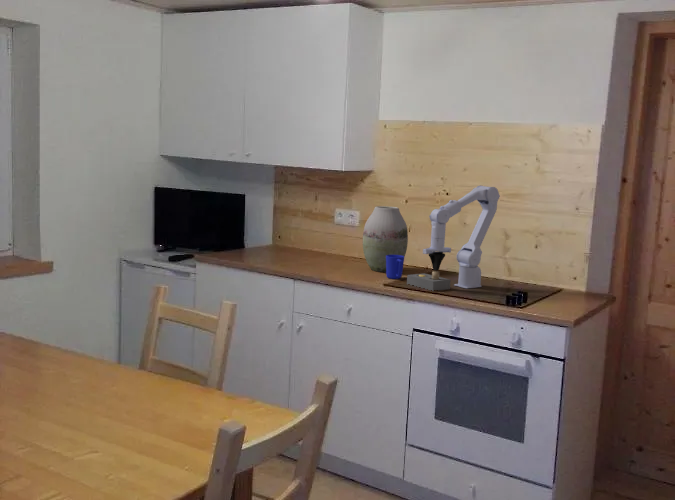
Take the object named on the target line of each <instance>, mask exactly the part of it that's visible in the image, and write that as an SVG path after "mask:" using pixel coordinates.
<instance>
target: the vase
mask: <svg viewBox="0 0 675 500" xmlns="http://www.w3.org/2000/svg"><path fill="white" fill-rule="evenodd" d="M408 232H409V231H408V225H407V223H406V221H405V219H404V217H403V216H402V214H401V211H400V208H399V207H396V206H386V205H385V206H384V205H381V206H380V205H379V206H375V207H374V209H373V211H372V212H371V213H370V215H369V216H368V218H367V220H366V221H365V224H364V227H363V234H362V249H363V255H364V258H365V261H366V263H367V264H368V267H369V268H370V270H371V271H373V272H378V273H386V255H401V256H404V258H406V257H405V256H406V253H407V249H408V243H409V237H408Z"/></svg>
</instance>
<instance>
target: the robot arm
mask: <svg viewBox="0 0 675 500" xmlns="http://www.w3.org/2000/svg"><path fill="white" fill-rule="evenodd" d="M500 197H501V196H500V192H499V190H498V188H497V187H496V186H485V185H477V186H476V187H474V188H472V190H470V191H469V192H467V193H466V194H465V195H464V196H462V197H461V198H459V199H458V200H456V199H450V200H449V201H448V202H447V203H446V204H444V205H441V206H439V208H435V209H433V210H432V211H431V212H430V214H429V221H430V222H431V224H430V225H431V232H430V233H431V234H430V246H429V247H427V248H423V249H422V254H425V255H428V256H429V259H430V261H431V266H432V270H433V271H437V272H438V271H439V270H440V267H441V264H442V263H443V260H444V258H445V257H446V253H449V254H450V253H452V247H446V246H445V243H446V242H445V240H446V224H447V223H448V222H449V221H450V218H452V217H454V216H456V215H457V214H459V213H460V212H462V208H463V207H465V206H468V205H469V204H471V203H473V202H475V201H477V202H478V204H479V205H480V207H481V208H482V210H481V212H480V213H479V214H480V215H479V216H478V219H477V222H476V223H475V226H474V228H473V230H472V233H471V235H470V237H469V238H468V239H469V240H468V242H466V243H465V244H463V245H462V247H461V249H460V250H458V252H457V253H456V261H457V262H458V265H459V266H458V267H459V268H458V281H457V283H454V284H453V286H454V287H455V286H456V287H459V288H464V289H474V288H482V287H483V286H482V285H481V282H482V280H481V279H482V270H481V267H479V266H478V265H479V264H480V263H481V257H482V254H483V251H482V249H481V246H482V244H483V241H484V239H485V237H486V234H487V232H488V230H489V228H490V225H491V223H492V222H493V219H494V216H495V215H496V213H497V209H498V201H499V199H500Z"/></svg>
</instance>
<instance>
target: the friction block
mask: <svg viewBox="0 0 675 500" xmlns="http://www.w3.org/2000/svg"><path fill="white" fill-rule="evenodd" d="M419 275H426V277H420V276H419ZM451 281H452V280H451V279H450V278H449V279H448V278H444V277H441V276H439V280H433V279H432V274H428V273H425V272H424V273H415V274H407V277H406V285H408V284H410V285H409V286H412V285H414V286H413V287H416V286H417V287H416V288H419V287H421V288H420V289H423V288H425V289H424V290H427V289H428V290H427V291H431V290H432V292H435V291H434V290H438V291H444V290H450V289H451V283H452V282H451Z"/></svg>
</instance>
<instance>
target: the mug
mask: <svg viewBox="0 0 675 500" xmlns="http://www.w3.org/2000/svg"><path fill="white" fill-rule="evenodd" d="M404 262H405V257H404V256H401V255H386V272H385V274H386V278H388V279H392V280H398V279H399V280H400V279H401V278H402V276H403V270H404Z"/></svg>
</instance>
